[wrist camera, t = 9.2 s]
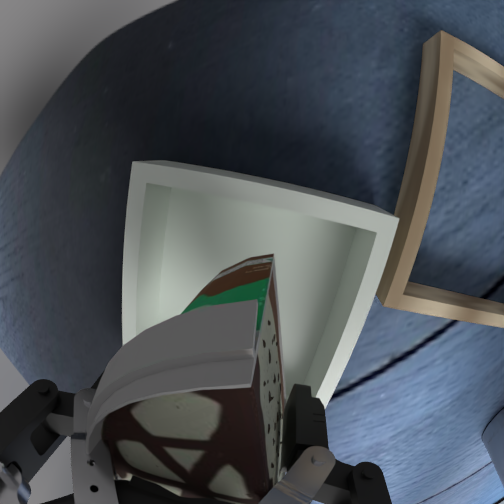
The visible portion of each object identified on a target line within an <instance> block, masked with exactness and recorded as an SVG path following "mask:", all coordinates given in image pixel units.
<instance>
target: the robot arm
mask: <svg viewBox="0 0 504 504" xmlns="http://www.w3.org/2000/svg"><path fill="white" fill-rule="evenodd" d="M104 371H105V370H104ZM103 373H104V372H103ZM103 373H102V374H101V376H100V377H99V378H98V379H97V381H96V382H95V383H94V385H93V386H92V387H91V388H85V389H82V390H80V391H78V392H77V393H76V394H74V393H67V392H62V391H58V388H57V386H56V384H55V383H54V382H52V381H50V380H46V379H41V380H37V381H35V382H33V383H32V384H31V385H30V386H29V387H28V388H27V389H25V390H24V391H23V392H22V393H21V394H20V395H19V396H18V397H17V398H16V399H14V400H13V401H12V402H11V403H10V404H9V405H8V406H7V407H6V408H5V409H3V410H2V412H0V504H27V502H28V500H29V497H30V494H31V488H30V485H29V482H30V480H31V479H32V478H33V477H34V475H35V474H36V473H37V472H38V470H39V469H40V468H41V467H42V466H43V464H44V463H45V462H46V461H47V460H48V458H49V457H50V456H51V455H52V454H53V453H54V451H55V450H56V449H57V448H58V446H59V445H60V444H61V443H62V442H63V440H64V439H65V438H66V437H67V436H69V437H71V466H72V479H73V491H74V493H73V494H70V495H67V496H64V497H61V498H58V499H55V500H52V501H48V502H45V503H41V504H235V503H230V502H225V501H220V500H215V499H210V498H188V497H181V496H178V495H176V494H175V493H173V492H171V491H169V490H167V489H165V488H164V487H162V486H160V485H158V484H156V483H153V482H150V481H147V480H145V479H142V478H139V477H136V476H134V475H133V476H132V478H131V480H119V478H118V474H117V470H116V467H115V463H114V460H113V456H112V452H111V449H110V445H109V441H108V440H103V439H100V441H99V442H98V443H97V445H96V446H95V447H94V449H93V450H92V451H91V453H90V454H87V453H86V436H87V431H86V428H87V417H88V412H89V409H90V407H91V404H92V401H93V398H94V396H95V393H96V390H97V388H98V385H99V382H100V380H101V378H102V375H103ZM482 441H483V443H484V445H485V447H486V449H487V451H488V453H489V455H490V458H491V460H492V462H493V464H494V466H495V469H496V471H497V473H498V475H499V478H500V480H501V482H502V484H503V487H504V409H503V410H501V411H500V412H499V413H498V414H497V415H496V417H495V418H494V419H493V420H492V421H491V422H490V424H489V425H488V426H487V428H486V429H485V431H484V433H483V436H482ZM280 472H287V473H286V475H285V476H284V477H283V478H282V479H281V480H280V481H279V482H278V483H277V484H276V485H275V486H274V487H273V488H272V489H271V490H270V491H269V492H268V494H267V495H266V496H265V497H264V498H263V499H262V500H261V501H260V502H259V503H258V504H310V503H311V502H312V500H315V501H318V502H321V503H324V504H392V502H391V499H390V495H389V492H388V489H387V485H386V482H385V478H384V475H383V472H382V470H381V469H380V467H379V466H377V465H376V464H374V463H371V462H361V463H359V464H357V465H356V466H352V465H349V464H345V463H342V462H340V461H338V460H337V459H335V457H334V455H333V453H332V452H331V451H330V450H329V447H328V437H327V427H326V417H325V408H324V405H323V403H322V402H321V400H320V398H316V397H312V394H311V386H308V385H302V384H296V383H295V384H294V385H293V388H292V390H291V393H290V395H289V398H288V400H287V403H286V405H285V408H284V413H283V426H282V447H281V465H280Z"/></svg>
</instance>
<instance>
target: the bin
mask: <svg viewBox="0 0 504 504" xmlns="http://www.w3.org/2000/svg"><path fill="white" fill-rule="evenodd" d="M398 222H399V218H398V217H396V216H394V215H392V214H391V213H389V212H387V211H385V210H383V209H381V208H379V207H378V206H376V205H373V204H369V203H366V202H362V201H358V200H355V199H351V198H347V197H343V196H339V195H336V194H332V193H328V192H324V191H320V190H315V189H311V188H307V187H303V186H299V185H294V184H290V183H285V182H281V181H276V180H272V179H267V178H262V177H257V176H252V175H247V174H242V173H237V172H232V171H227V170H221V169H216V168H210V167H204V166H198V165H192V164H186V163H180V162H173V161H167V160H156V161H133V162H132V169H131V176H130V184H129V193H128V202H127V212H126V223H125V236H124V253H123V277H122V334H123V345H124V344H126V343H127V342H129V341H130V340H131V339H133V338H134V337H136V336H137V335H138V334H140V333H141V332H143V331H144V330H145V329H148V328H150V327H152V326H154V325H156V324H159V323H161V322H163V321H165V320H167V319H170V318H172V317H174V316H176V315H180V314H181V313H182V312H183V311H184V310H185V308H186V307H187V306H188V305H189V304H190V303H191V301H192V300H193V299H194V298H195V297H196V296H197V295H198V293H199V292H200V291H201V290H202V289H203V288H204V287H205V286H206V285H207V284H208V283H209V282H210V281H211V280H212V279H213V278H214V277H216V276H217V275H218V274H219V273H220V272H221V271H222V270H224V269H226V268H228V267H230V266H232V265H235V264H237V263H239V262H241V261H243V260H245V259H248V258H250V257H255V256H261V255H267V254H273V253H274V259H275V270H276V280H277V291H278V302H279V314H280V325H281V337H282V350H283V362H284V375H285V389H286V403H287V400H288V398H289V395H290V393H291V390H292V388H293V385H294V384H295V383H296V384H302V385H308V386H311V394H312V397H316V398H320V400H321V402H322V403H323V405H324V408H326V406H327V404H328V402H329V400H330V398H331V396H332V394H333V392H334V390H335V388H336V386H337V384H338V382H339V380H340V378H341V376H342V373H343V371H344V369H345V367H346V365H347V363H348V360H349V358H350V356H351V354H352V351H353V349H354V347H355V344H356V342H357V340H358V337H359V335H360V332H361V330H362V328H363V325H364V323H365V320H366V318H367V315H368V312H369V310H370V307H371V305H372V302H373V299H374V296H375V294H376V291H377V288H378V285H379V283H380V280H381V277H382V274H383V271H384V268H385V265H386V262H387V259H388V256H389V252H390V249H391V246H392V243H393V239H394V236H395V233H396V229H397V226H398Z"/></svg>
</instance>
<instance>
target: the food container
mask: <svg viewBox="0 0 504 504" xmlns="http://www.w3.org/2000/svg"><path fill="white" fill-rule="evenodd" d="M285 405H286V389H285V375H284V362H283V350H282V337H281V325H280V314H279V302H278V291H277V280H276V270H275V259H274V253H273V254H267V255H261V256H255V257H250V258H248V259H245V260H243V261H241V262H239V263H237V264H235V265H232V266H230V267H228V268H226V269H224V270H222V271H221V272H220V273H219V274H218V275H217V276H216V277H214V278H213V279H212V280H211V281H210V282H209V283H208V284H207V285H206V286H205V287H204V288H203V289H202V290H201V291H200V292H199V293H198V295H197V296H196V297H195V298H194V299H193V300H192V301H191V303H190V304H189V305H188V306H187V307H186V308H185V310H184V311H183V312H182V313H181V314H180V315H176V316H174V317H172V318H170V319H167V320H165V321H163V322H161V323H159V324H156V325H154V326H152V327H150V328H148V329H145V330H144V331H143V332H141V333H140V334H138V335H137V336H136V337H134V338H133V339H131V340H130V341H129V342H127V343H126V344H124V345H123V346H122V347H121V349H120V350H119V351H118V352H117V353H116V354H115V356H114V357H113V358H112V359H111V360H110V361H109V363H108V365H107V367H106V369H105V371H104V373H103V375H102V378H101V380H100V382H99V385H98V388H97V390H96V393H95V396H94V398H93V401H92V404H91V407H90V409H89V412H88V417H87V428H86V431H87V436H86V453H87V454H90V453H91V451H92V450H93V449H94V447H95V446H96V445H97V443H98V442H99V441H100V439H103V440H108V441H109V445H110V449H111V452H112V456H113V460H114V463H115V467H116V470H117V474H118V478H119V480H131V478H132V476H133V475H134V476H136V477H139V478H142V479H145V480H147V481H150V482H153V483H156V484H158V485H160V486H162V487H164V488H165V489H167V490H169V491H171V492H173V493H175V494H176V495H178V496H181V497H188V498H210V499H215V500H220V501H225V502H230V503H235V504H258V503H259V502H260V501H261V500H262V499H263V498H264V497H265V496H266V495H267V494H268V492H269V491H270V490H271V489H272V488H273V487H274V486H275V485H276V484H277V483H278V482H279V481H280V480H281V479H282V478H283V477H284V476H285V472H280V465H281V447H282V426H283V413H284V408H285Z"/></svg>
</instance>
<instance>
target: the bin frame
mask: <svg viewBox="0 0 504 504" xmlns="http://www.w3.org/2000/svg"><path fill="white" fill-rule="evenodd" d="M453 70H455V71H457V72H459V73H460V74H462V75H464V76H466V77H468V78H470V79H471V80H473V81H475V82H477V83H478V84H480V85H482V86H484V87H485V88H487V89H489V90H490V91H492V92H493V93H495V94H497V95H498V96H500V97H501V98H503V99H504V67H503V66H502V65H501V64H499V63H498V62H496V61H495V60H493V59H491V58H490V57H488V56H487V55H485V54H484V53H482V52H480V51H479V50H477V49H475V48H474V47H472V46H470V45H468V44H467V43H465V42H463V41H461V40H459V39H457V38H456V37H454V36H452V35H450V34H448V33H446V32H444V31H442V30H440V31H439V32H438V33H436V34H435V35H434V36H433V37H431V38H430V39H429V40H427V41H426V42H425V43H424V44H423V51H422V63H421V74H420V83H419V91H418V99H417V106H416V113H415V119H414V125H413V131H412V137H411V142H410V147H409V152H408V157H407V162H406V167H405V171H404V176H403V180H402V184H401V189H400V193H399V197H398V201H397V205H396V209H395V212H394V216H396V217H398V218H399V222H398V226H397V229H396V233H395V236H394V239H393V243H392V246H391V249H390V252H389V256H388V259H387V262H386V265H385V268H384V271H383V274H382V277H381V280H380V283H379V285H378V288H377V291H376V295H377V297H378V299H379V300H380V302H381V303H382V305H383V306H384V307H389V308H394V309H400V310H405V311H410V312H415V313H421V314H426V315H432V316H437V317H443V318H448V319H454V320H460V321H466V322H471V323H477V324H483V325H489V326H496V327H502V328H504V304H503V303H499V302H495V301H491V300H486V299H482V298H478V297H474V296H469V295H465V294H461V293H456V292H452V291H448V290H444V289H439V288H435V287H431V286H426V285H422V284H418V283H413V282H409V281H408V279H409V276H410V273H411V270H412V267H413V264H414V261H415V259H416V255H417V252H418V249H419V246H420V243H421V240H422V236H423V233H424V230H425V226H426V223H427V219H428V215H429V212H430V208H431V204H432V200H433V196H434V192H435V188H436V183H437V179H438V174H439V170H440V165H441V160H442V154H443V149H444V143H445V137H446V131H447V124H448V117H449V109H450V100H451V90H452V78H453Z"/></svg>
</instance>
